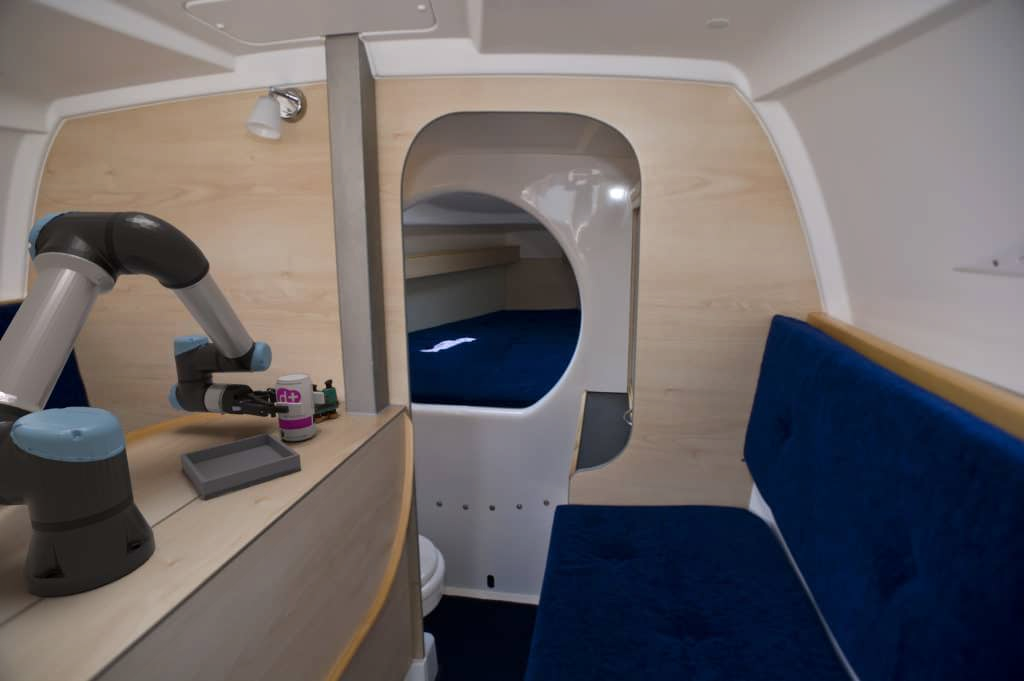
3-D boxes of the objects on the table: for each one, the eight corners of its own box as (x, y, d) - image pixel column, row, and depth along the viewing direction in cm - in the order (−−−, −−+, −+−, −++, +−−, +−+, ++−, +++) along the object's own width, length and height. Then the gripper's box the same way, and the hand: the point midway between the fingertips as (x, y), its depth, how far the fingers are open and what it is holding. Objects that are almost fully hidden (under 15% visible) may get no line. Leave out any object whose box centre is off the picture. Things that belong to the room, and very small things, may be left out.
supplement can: (304, 443, 121) (298, 382, 118) (273, 440, 123) (267, 380, 120) (323, 431, 129) (318, 373, 126) (293, 429, 131) (288, 371, 128)
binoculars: (322, 376, 146) (340, 379, 139) (327, 412, 147) (344, 416, 140) (291, 382, 139) (308, 385, 133) (296, 420, 141) (313, 425, 134)
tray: (204, 500, 96) (202, 482, 95) (182, 470, 108) (180, 454, 108) (301, 470, 108) (299, 454, 107) (270, 446, 121) (269, 432, 120)
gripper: (260, 400, 139) (337, 405, 134) (200, 427, 119) (288, 433, 114) (257, 373, 137) (335, 377, 133) (196, 396, 117) (284, 401, 113)
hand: (313, 403), depth 123 cm, fingers closed on supplement can, 8 cm apart
